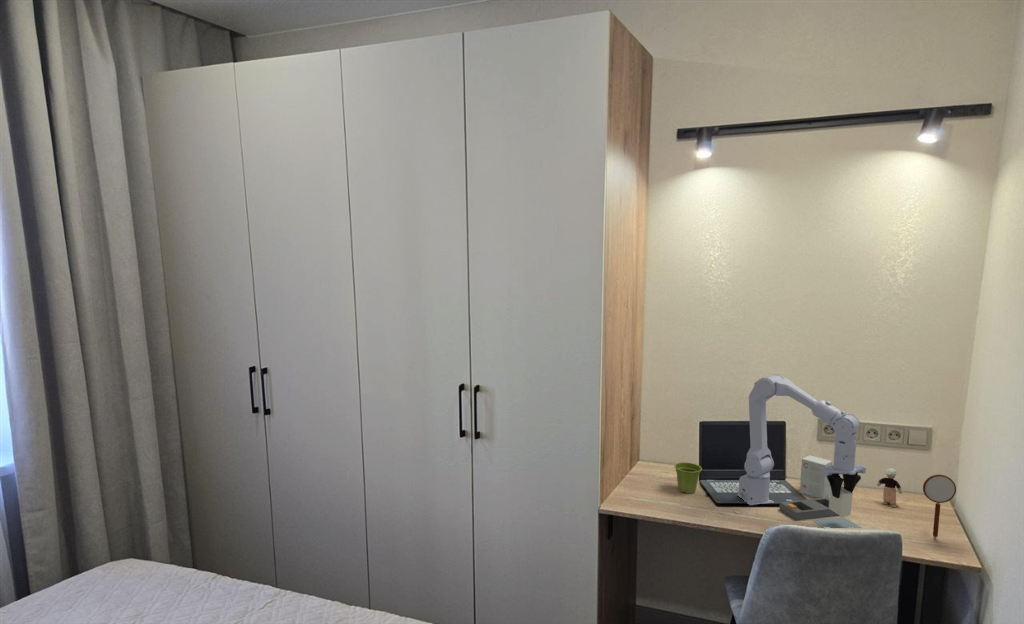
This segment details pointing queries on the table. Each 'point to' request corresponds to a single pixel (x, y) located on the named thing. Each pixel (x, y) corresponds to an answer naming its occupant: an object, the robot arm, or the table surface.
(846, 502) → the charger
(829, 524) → the mat
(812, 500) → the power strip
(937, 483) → the magnifying glass
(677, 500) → the table surface
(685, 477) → the plant pot
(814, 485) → the small box
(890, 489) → the grandmother figurine
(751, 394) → the robot arm
